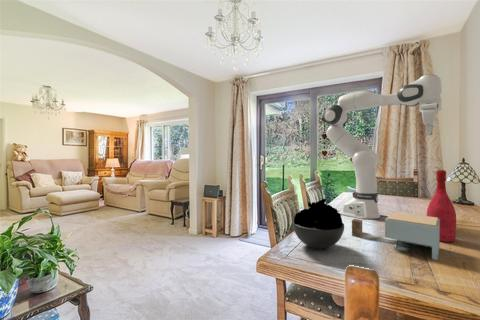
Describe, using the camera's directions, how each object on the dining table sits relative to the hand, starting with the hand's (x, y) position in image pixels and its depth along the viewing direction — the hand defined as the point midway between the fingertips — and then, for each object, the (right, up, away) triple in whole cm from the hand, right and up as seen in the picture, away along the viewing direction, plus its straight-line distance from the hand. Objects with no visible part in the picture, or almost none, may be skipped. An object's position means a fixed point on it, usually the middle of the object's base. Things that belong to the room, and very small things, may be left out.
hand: (429, 134), depth 122 cm
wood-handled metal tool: (-37, -48, -16) cm, 62 cm away
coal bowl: (-65, -48, -24) cm, 84 cm away
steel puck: (-33, -48, -28) cm, 65 cm away
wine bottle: (-9, -47, -18) cm, 51 cm away
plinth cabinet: (-28, -48, -27) cm, 62 cm away
